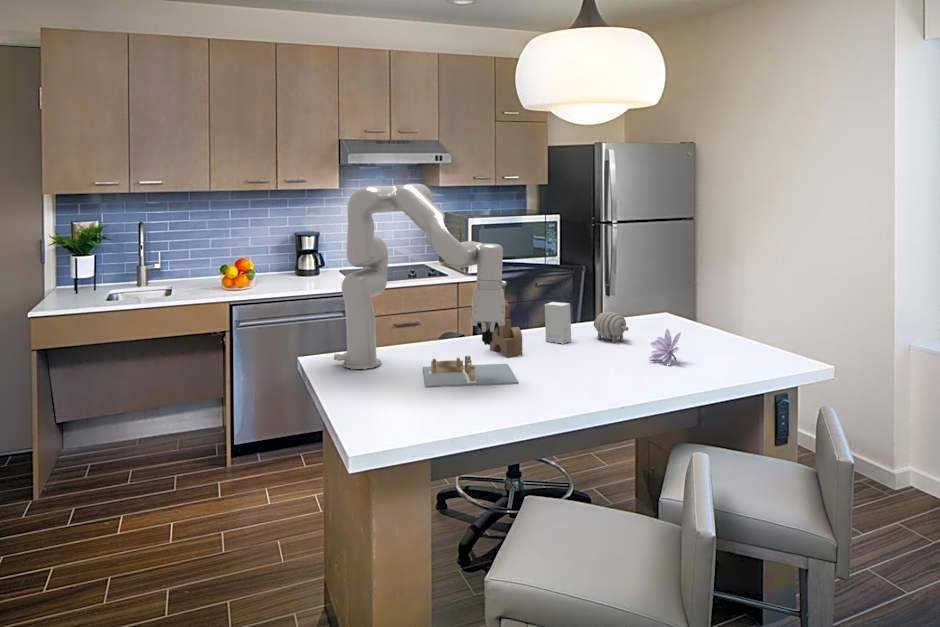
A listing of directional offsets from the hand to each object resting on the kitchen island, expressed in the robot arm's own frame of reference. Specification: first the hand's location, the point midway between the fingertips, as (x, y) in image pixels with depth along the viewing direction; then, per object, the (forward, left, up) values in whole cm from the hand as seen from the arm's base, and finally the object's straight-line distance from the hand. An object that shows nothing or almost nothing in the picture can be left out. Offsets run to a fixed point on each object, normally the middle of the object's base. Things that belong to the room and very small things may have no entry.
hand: (486, 343), depth 221 cm
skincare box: (+33, +47, -11) cm, 58 cm away
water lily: (+61, +12, -11) cm, 63 cm away
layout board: (-5, +4, -11) cm, 13 cm away
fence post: (-5, +7, -11) cm, 14 cm away
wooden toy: (+11, +34, -11) cm, 37 cm away
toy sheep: (+53, +46, -11) cm, 71 cm away
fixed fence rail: (-12, +7, -10) cm, 17 cm away
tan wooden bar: (-5, 0, -10) cm, 11 cm away
